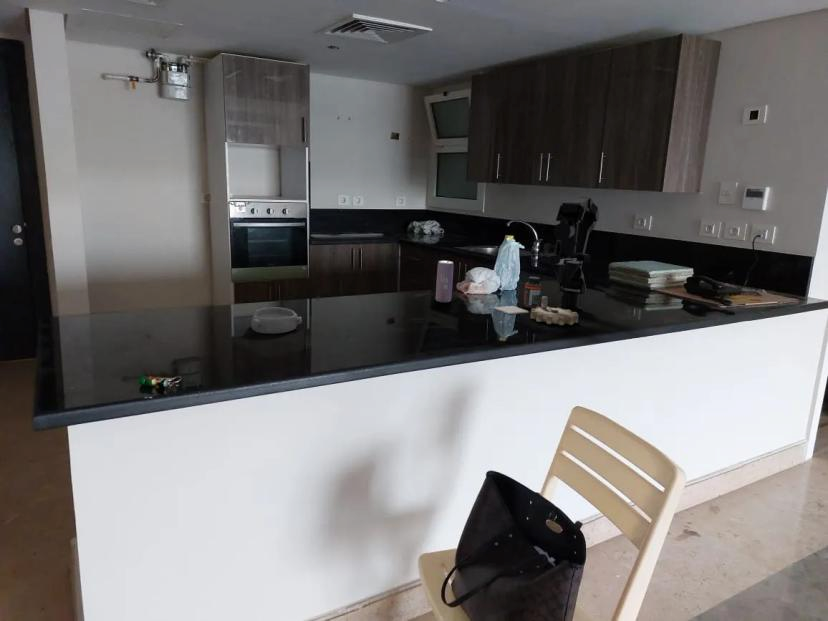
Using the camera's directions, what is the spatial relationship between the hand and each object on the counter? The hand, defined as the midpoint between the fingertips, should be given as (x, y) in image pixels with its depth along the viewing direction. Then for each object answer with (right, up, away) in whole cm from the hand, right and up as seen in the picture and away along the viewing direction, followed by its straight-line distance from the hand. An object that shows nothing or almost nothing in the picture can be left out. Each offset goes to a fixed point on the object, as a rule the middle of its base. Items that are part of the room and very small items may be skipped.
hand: (563, 282), depth 202 cm
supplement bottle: (-8, -9, +14) cm, 19 cm away
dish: (-94, -15, -33) cm, 101 cm away
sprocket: (-4, -13, -5) cm, 15 cm away
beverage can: (-41, -6, +16) cm, 45 cm away
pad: (-17, -10, +6) cm, 21 cm away
